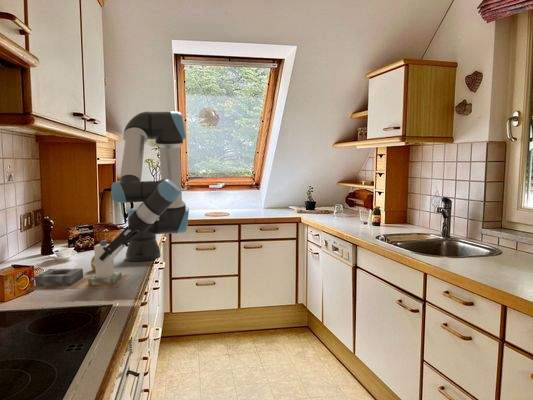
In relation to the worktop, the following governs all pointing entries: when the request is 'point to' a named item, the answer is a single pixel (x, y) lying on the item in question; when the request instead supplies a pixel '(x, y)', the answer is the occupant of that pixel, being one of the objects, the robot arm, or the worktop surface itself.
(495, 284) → the worktop surface
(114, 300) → the worktop surface
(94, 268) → the lemon
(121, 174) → the robot arm
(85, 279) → the board
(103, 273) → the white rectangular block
